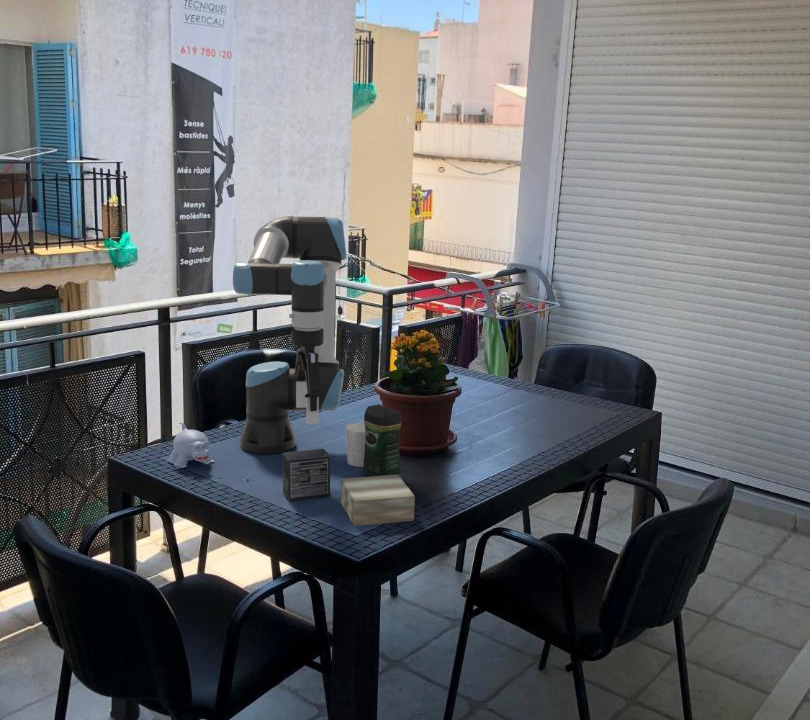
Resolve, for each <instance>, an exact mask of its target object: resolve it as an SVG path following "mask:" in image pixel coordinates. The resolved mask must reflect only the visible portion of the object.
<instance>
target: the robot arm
mask: <svg viewBox="0 0 810 720" xmlns="http://www.w3.org/2000/svg"><path fill="white" fill-rule="evenodd" d="M285 258H286V259H299V260H297V261H296V260H295V261H294V262H293V263H280V262H281V260H282V259H285ZM345 260H347V248H346V239H345V231H344V223H343V221H342V220H341V219H340V218H338V217H330V216H329V217H328V216H293V215H289V216H287V215H286V216H282V217H278V218H276V219H273V220H271V221H269V222H267V223H265V224H264V225H263V226H261V227H260V228H259V229H258V231H256V234H255V236H254V239H253V249H252V252H251V254H250V256H249V258H248V262H247V261H246V262H245V261H244V262H237V263H235V264H234V266H233V271H232V286H233V291H234V292H235V293H237V294H238V295H239V294H241V295H242V294H243V295H248V296H251V295H256V296H257V295H259V296H261V295H262V296H263V295H264V296H265V295H266V296H268V295H269V296H276V295H277V296H278V295H279V296H291V313H290V314H288V317H289V318H290V319H291V326H292V328H291V331H290V332H291V334H290V335H291V336H290V338H291V340H290V342H291V344H292V345H293V346H296V357H295V367H294V368H292V367H291V368H290V365H289V363H288V362H285V361H268V362H262V363H259V364H255V365H253V366H251V367H249V369H248V370H247V372H246V379H245V389H246V390H245V391H246V392H245V396H246V397H245V400H246V404H245V405H246V409H245V410H246V416H245V417H246V420H245V423H244V426H243V429H242V432H241V435H240V439H239V440H240V448H241V449H242V450H244V451H246V452H249V453H254V454H261V455H263V454H264V455H265V454H267V455H269V454H270V455H271V454H279V453H285V452H287V451H288V452H289V451H290V450H292V449H293V448H295V446H296V436H295V434H294V431H293V427H292V424H291V421H290V418H289V416H290V415H289V411H295V412H296V411H297V412H299V411H301V412H306V413H305V414H306V415H305V417H306V421H305V422H306V425H318V424H319V417H320V416H319V414H320V413H319V412H321V413H322V412H334V411H336V410H338V408H339V407H340V403H341V402H340V401H341V396H342V390H343V384H344V376H345V370H344V369H342V368H340V362H339V360H337V359H336V358H335V326H336V325H335V319H336V318H335V315H336V279H337V278H336V277H337V275H336V273H337V271H338V270H339V269H340V268H341V267H342V261H345Z"/></svg>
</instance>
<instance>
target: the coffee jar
mask: <svg viewBox="0 0 810 720" xmlns="http://www.w3.org/2000/svg"><path fill="white" fill-rule="evenodd" d="M363 423H364V424H365V452H364V463H363V467H362V472H363V475H364V476H365V477H373V476H386V475H399V477H401V459H400V456H401V455H400V454H401V453H400V433H401V432H400V431H401V427H402V413H401V412H400V411H399V410H396V409H392V408H390V407H387V406H384V405H381V404H373V405H368V406H367V407H366V409H365V411H364V417H363Z"/></svg>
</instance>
